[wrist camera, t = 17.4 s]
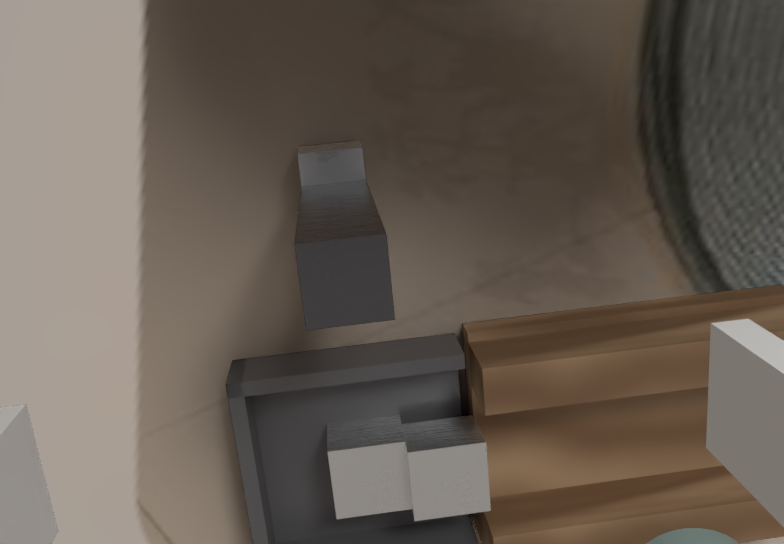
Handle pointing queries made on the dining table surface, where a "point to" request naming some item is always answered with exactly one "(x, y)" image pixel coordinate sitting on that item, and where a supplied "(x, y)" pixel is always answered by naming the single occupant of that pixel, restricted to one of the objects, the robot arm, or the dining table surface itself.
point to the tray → (309, 434)
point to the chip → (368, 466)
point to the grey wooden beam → (340, 240)
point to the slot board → (609, 421)
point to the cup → (693, 537)
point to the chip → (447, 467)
